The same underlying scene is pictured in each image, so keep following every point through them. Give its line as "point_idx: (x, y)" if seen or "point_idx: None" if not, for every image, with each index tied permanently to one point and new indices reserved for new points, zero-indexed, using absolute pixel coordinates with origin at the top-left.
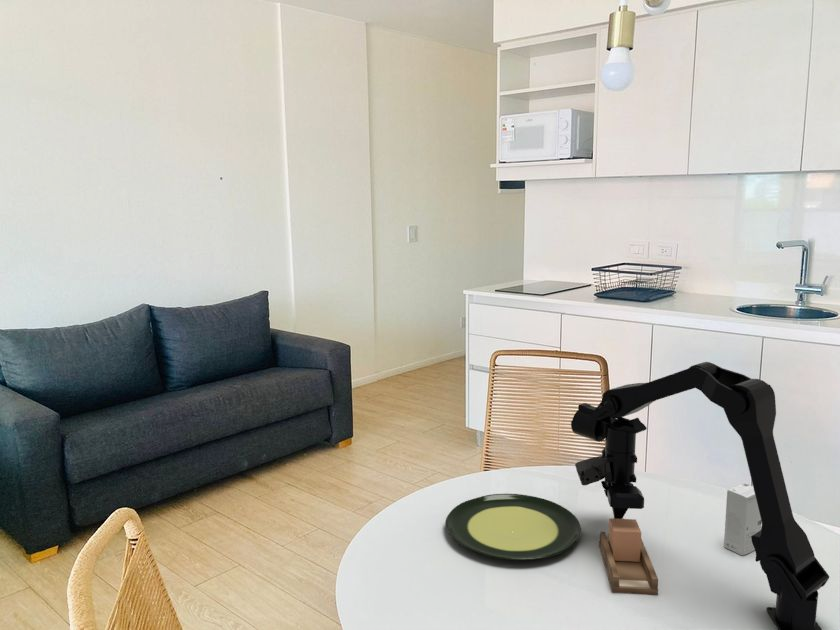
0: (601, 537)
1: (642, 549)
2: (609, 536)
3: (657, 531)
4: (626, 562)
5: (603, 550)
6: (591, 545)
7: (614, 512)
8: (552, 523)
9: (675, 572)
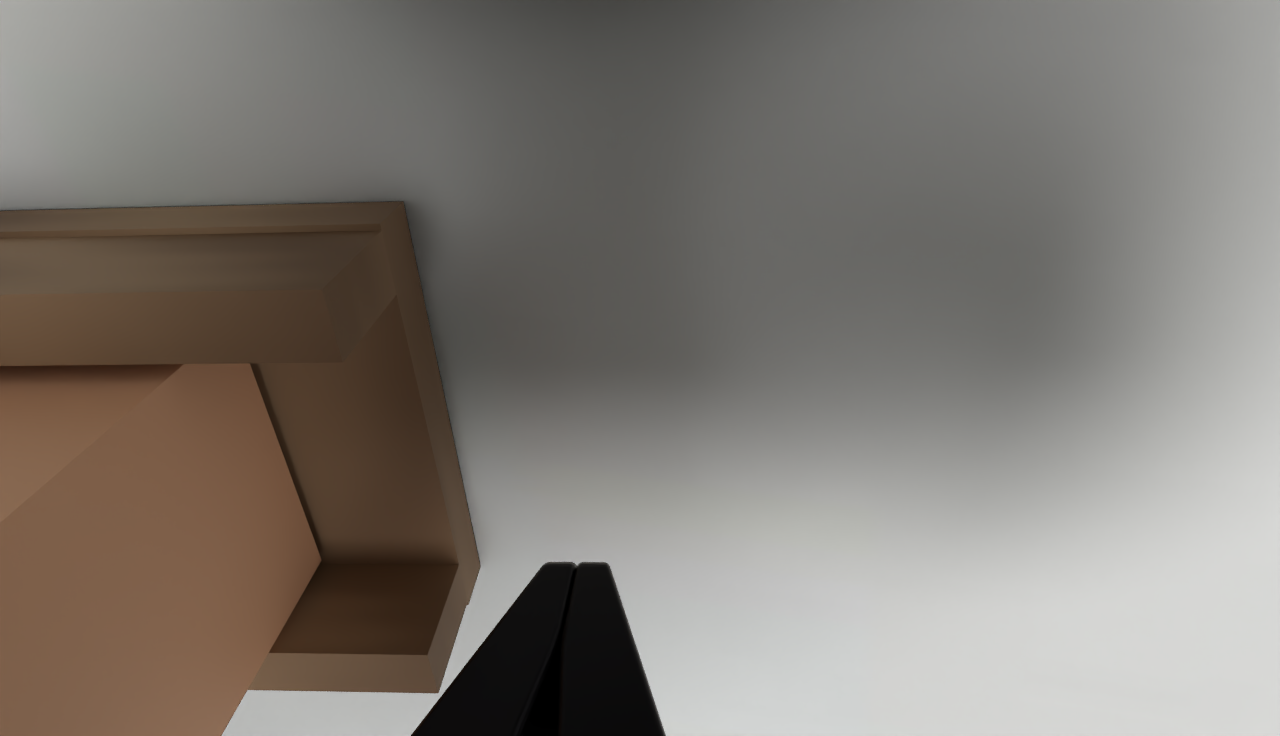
0: (161, 287)
1: None
2: (58, 420)
3: (796, 720)
4: None
5: (22, 254)
6: (379, 100)
7: (435, 708)
8: None
9: None
